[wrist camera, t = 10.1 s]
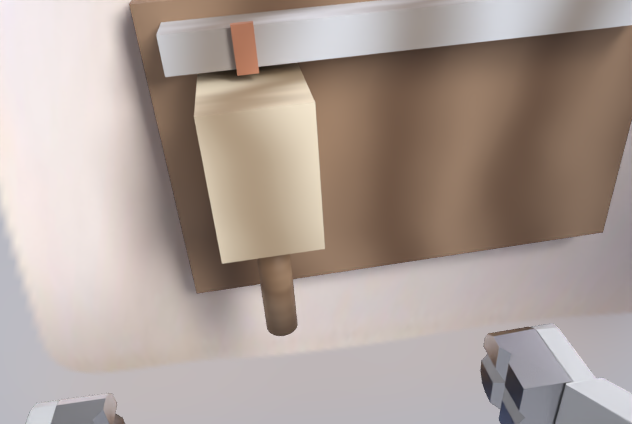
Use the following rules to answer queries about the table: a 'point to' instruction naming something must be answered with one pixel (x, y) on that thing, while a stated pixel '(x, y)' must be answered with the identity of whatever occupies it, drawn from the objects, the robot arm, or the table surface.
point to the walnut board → (410, 119)
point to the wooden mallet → (262, 175)
